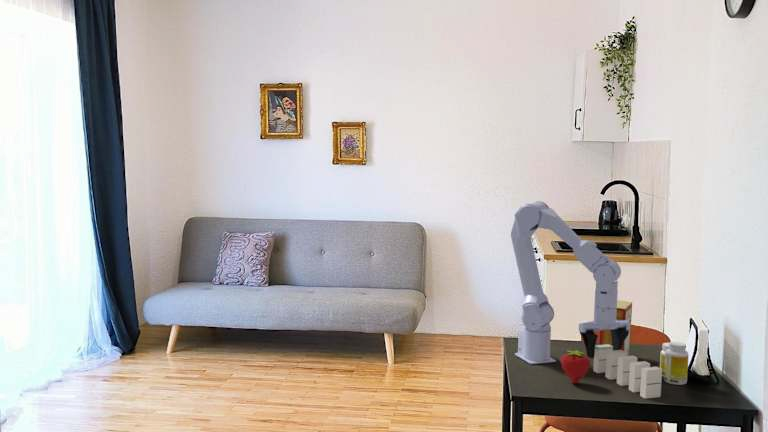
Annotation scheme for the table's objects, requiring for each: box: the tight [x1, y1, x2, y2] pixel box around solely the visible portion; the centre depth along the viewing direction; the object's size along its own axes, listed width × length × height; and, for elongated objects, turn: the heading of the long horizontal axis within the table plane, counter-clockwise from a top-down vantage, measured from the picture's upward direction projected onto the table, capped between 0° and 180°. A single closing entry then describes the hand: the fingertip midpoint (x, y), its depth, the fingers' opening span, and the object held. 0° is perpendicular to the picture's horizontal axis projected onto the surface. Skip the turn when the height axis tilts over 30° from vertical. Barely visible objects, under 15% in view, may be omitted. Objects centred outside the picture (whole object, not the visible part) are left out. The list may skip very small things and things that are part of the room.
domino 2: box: [616, 354, 638, 387], centre depth 197 cm, size 2×4×7 cm, turn 109°
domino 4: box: [639, 366, 663, 399], centre depth 188 cm, size 2×4×7 cm, turn 108°
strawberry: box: [560, 349, 591, 384], centre depth 196 cm, size 6×8×10 cm
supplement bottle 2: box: [663, 341, 689, 386], centre depth 198 cm, size 6×6×10 cm
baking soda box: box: [599, 300, 633, 356], centre depth 218 cm, size 10×6×16 cm
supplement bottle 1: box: [659, 342, 670, 378], centre depth 204 cm, size 5×5×8 cm
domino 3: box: [628, 360, 651, 393], centre depth 192 cm, size 2×4×7 cm, turn 108°
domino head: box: [592, 344, 613, 374], centre depth 207 cm, size 2×4×7 cm, turn 108°
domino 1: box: [604, 350, 625, 381], centre depth 201 cm, size 2×4×7 cm, turn 109°
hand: (602, 356), depth 207 cm, fingers open, 7 cm apart
